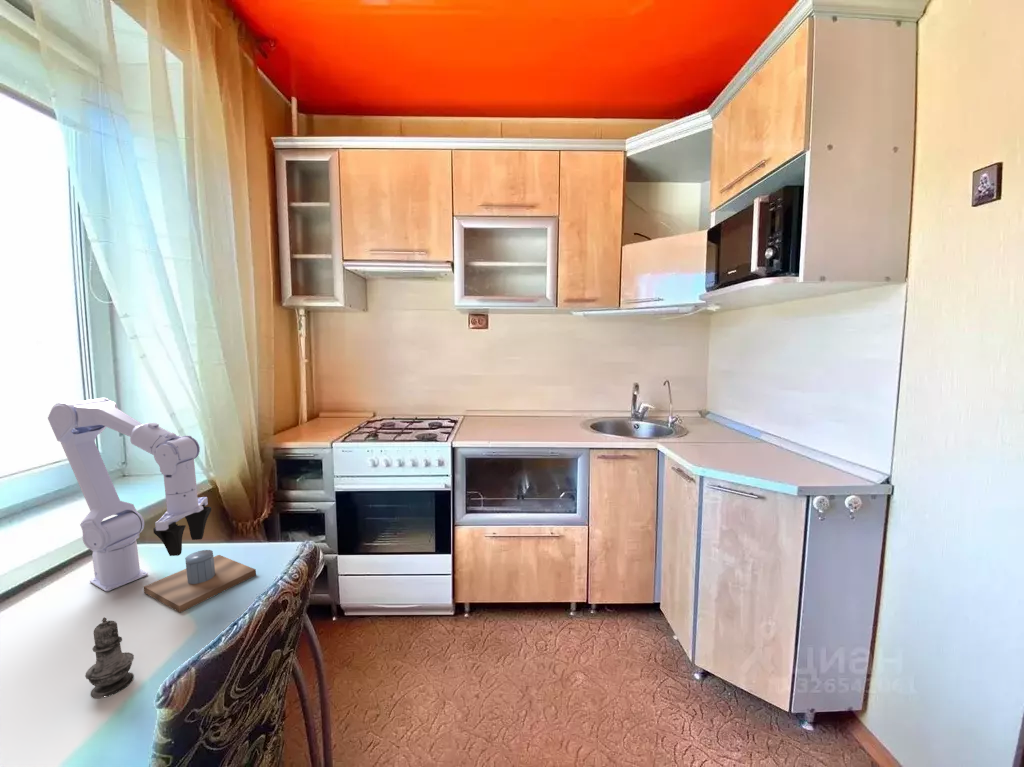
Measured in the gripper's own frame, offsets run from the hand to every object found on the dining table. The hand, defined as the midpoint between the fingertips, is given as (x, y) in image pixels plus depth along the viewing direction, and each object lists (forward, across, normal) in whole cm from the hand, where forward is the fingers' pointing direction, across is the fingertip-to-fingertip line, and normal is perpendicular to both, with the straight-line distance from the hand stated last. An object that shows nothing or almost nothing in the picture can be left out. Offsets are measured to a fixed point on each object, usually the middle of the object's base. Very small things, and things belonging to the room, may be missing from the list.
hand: (186, 546), depth 99 cm
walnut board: (+9, 0, -3) cm, 10 cm away
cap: (+8, 0, -3) cm, 8 cm away
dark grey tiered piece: (+9, -30, -7) cm, 32 cm away
